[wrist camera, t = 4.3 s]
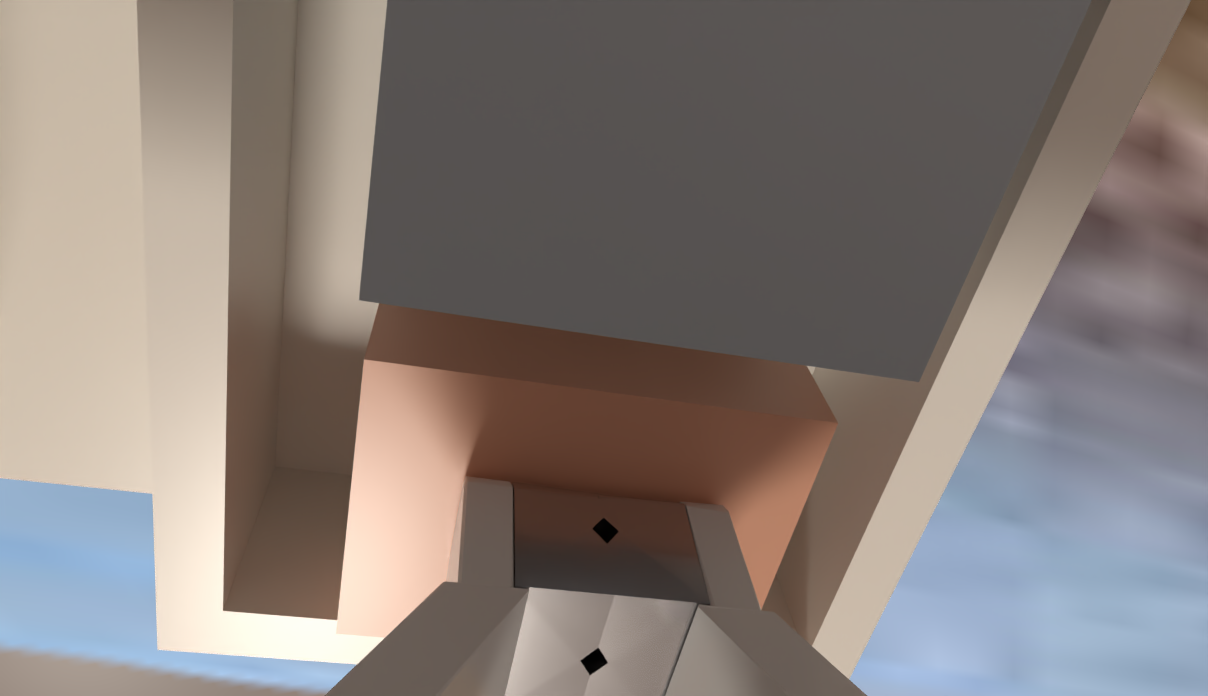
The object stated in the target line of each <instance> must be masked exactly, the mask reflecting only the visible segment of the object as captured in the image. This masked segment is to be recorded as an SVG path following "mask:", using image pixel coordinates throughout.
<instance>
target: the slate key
mask: <svg viewBox="0 0 1208 696" xmlns="http://www.w3.org/2000/svg"><path fill="white" fill-rule="evenodd" d="M1091 1H1092V0H387V9H386V20H385V30H384V41H383V51H382V62H381V72H380V83H379V93H378V104H377V114H376V125H375V135H374V146H373V156H372V167H371V177H370V188H369V198H368V209H367V219H366V230H365V240H364V251H363V261H362V272H361V282H360V293H359V300H360V301H367V302H374V303H381V304H387V305H394V306H401V307H408V308H415V309H422V310H429V311H435V312H442V313H449V314H456V315H463V316H470V317H476V318H483V319H490V320H497V321H504V322H511V323H517V324H524V325H531V326H538V327H545V328H552V329H559V330H565V331H572V332H579V333H586V334H593V335H600V336H606V337H613V338H620V339H627V340H634V341H641V342H648V343H654V344H661V345H668V346H675V347H682V348H689V349H695V350H702V351H709V352H716V353H723V354H730V355H737V356H743V357H750V358H757V359H764V360H771V361H778V362H784V363H791V364H798V365H805V366H812V367H819V368H825V369H832V370H839V371H846V372H853V373H860V374H867V375H873V376H880V377H887V378H894V379H901V380H908V381H914V382H919V381H920V379H921V377H922V374H923V372H924V370H925V368H926V366H927V363H928V361H929V359H930V357H931V354H932V352H933V350H934V348H935V346H936V343H937V341H938V339H939V337H940V335H941V332H942V330H943V328H944V326H945V324H946V321H947V319H948V317H949V315H950V313H951V310H952V308H953V306H954V304H955V302H956V299H957V297H958V295H959V293H960V290H961V288H962V286H963V284H964V282H965V279H966V277H967V275H968V273H969V271H970V268H971V266H972V264H973V262H974V260H975V257H976V255H977V253H978V251H979V249H980V246H981V244H982V242H983V240H984V238H985V235H986V233H987V231H988V229H989V226H990V224H991V222H992V220H993V218H994V215H995V213H996V211H997V209H998V207H999V204H1000V202H1001V200H1002V198H1003V196H1004V193H1005V191H1006V189H1007V187H1008V185H1009V182H1010V180H1011V178H1012V176H1013V174H1014V171H1015V169H1016V167H1017V165H1018V162H1019V160H1020V158H1021V156H1022V154H1023V151H1024V149H1025V147H1026V145H1027V143H1028V140H1029V138H1030V136H1031V134H1032V132H1033V129H1034V127H1035V125H1036V123H1037V121H1038V118H1039V116H1040V114H1041V112H1042V110H1043V107H1044V105H1045V103H1046V101H1047V98H1048V96H1049V94H1050V92H1051V90H1052V87H1053V85H1054V83H1055V81H1056V79H1057V76H1058V74H1059V72H1060V70H1061V68H1062V65H1063V63H1064V61H1065V59H1066V57H1067V54H1068V52H1069V50H1070V48H1071V46H1072V43H1073V41H1074V39H1075V37H1076V34H1077V32H1078V30H1079V28H1080V26H1081V23H1082V21H1083V19H1084V17H1085V15H1086V12H1087V10H1088V8H1089V6H1090V4H1091Z"/></svg>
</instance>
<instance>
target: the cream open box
mask: <svg viewBox="0 0 1208 696" xmlns="http://www.w3.org/2000/svg"><path fill="white" fill-rule="evenodd" d="M1190 1H1191V0H1092V1H1091V4H1090V6H1089V8H1088V10H1087V12H1086V15H1085V17H1084V19H1083V21H1082V23H1081V26H1080V28H1079V30H1078V32H1077V34H1076V37H1075V39H1074V41H1073V43H1072V46H1071V48H1070V50H1069V52H1068V54H1067V57H1066V59H1065V61H1064V63H1063V65H1062V68H1061V70H1060V72H1059V74H1058V76H1057V79H1056V81H1055V83H1054V85H1053V87H1052V90H1051V92H1050V94H1049V96H1048V98H1047V101H1046V103H1045V105H1044V107H1043V110H1042V112H1041V114H1040V116H1039V118H1038V121H1037V123H1036V125H1035V127H1034V129H1033V132H1032V134H1031V136H1030V138H1029V140H1028V143H1027V145H1026V147H1025V149H1024V151H1023V154H1022V156H1021V158H1020V160H1019V162H1018V165H1017V167H1016V169H1015V171H1014V174H1013V176H1012V178H1011V180H1010V182H1009V185H1008V187H1007V189H1006V191H1005V193H1004V196H1003V198H1002V200H1001V202H1000V204H999V207H998V209H997V211H996V213H995V215H994V218H993V220H992V222H991V224H990V226H989V229H988V231H987V233H986V235H985V238H984V240H983V242H982V244H981V246H980V249H979V251H978V253H977V255H976V257H975V260H974V262H973V264H972V266H971V268H970V271H969V273H968V275H967V277H966V279H965V282H964V284H963V286H962V288H961V290H960V293H959V295H958V297H957V299H956V302H955V304H954V306H953V308H952V310H951V313H950V315H949V317H948V319H947V321H946V324H945V326H944V328H943V330H942V332H941V335H940V337H939V339H938V341H937V343H936V346H935V348H934V350H933V352H932V354H931V357H930V359H929V361H928V363H927V366H926V368H925V370H924V372H923V374H922V377H921V379H920V381H919V382H914V381H908V380H901V379H894V378H887V377H880V376H873V375H867V374H860V373H853V372H846V371H839V370H832V369H825V368H819V367H812V366H807V367H808V369H809V371H810V373H811V375H812V376H813V378H814V380H815V382H816V384H817V385H818V387H819V389H820V391H821V393H822V394H823V396H824V398H825V400H826V402H827V404H828V405H829V407H830V409H831V411H832V413H833V414H834V416H835V418H836V420H837V422H838V425H837V427H836V430H835V432H834V435H833V437H832V440H831V442H830V444H829V447H828V449H827V452H826V454H825V457H824V459H823V461H822V464H821V466H820V469H819V471H818V473H817V476H816V478H815V481H814V483H813V486H812V488H811V490H810V493H809V495H808V498H807V500H806V503H805V505H804V507H803V510H802V512H801V515H800V517H799V519H798V522H797V524H796V527H795V529H794V532H793V534H792V536H791V539H790V541H789V544H788V546H787V549H786V551H785V553H784V556H783V558H782V561H781V563H780V565H779V568H778V570H777V573H776V575H775V578H774V580H773V582H772V585H771V587H770V590H769V592H768V595H767V597H766V599H765V602H764V604H763V607H762V609H761V611H770V612H775V613H776V614H777V615H778V616H779V617H780V618H781V619H782V620H784V621H785V622H786V623H787V624H788V625H789V626H790V627H791V628H792V629H794V630H795V631H796V632H797V633H798V634H799V635H800V636H801V637H802V638H804V639H805V640H806V641H807V642H808V643H809V644H810V645H811V646H812V647H813V648H815V649H816V650H817V651H818V652H819V653H820V654H821V655H822V656H823V657H825V658H826V659H827V660H828V661H829V662H830V663H831V664H832V665H833V666H835V667H836V668H837V669H838V670H839V671H840V672H841V673H842V674H843V675H845V676H846V677H847V678H848V679H850V677H851V675H852V673H853V671H854V669H855V667H856V665H857V663H858V661H859V659H860V657H861V655H862V653H863V651H864V649H865V647H866V645H867V643H868V641H869V639H870V637H871V635H872V633H873V631H874V629H875V627H876V625H877V623H878V621H879V619H880V617H881V615H882V613H883V611H884V609H885V607H886V605H887V603H888V601H889V599H890V597H891V595H892V593H893V591H894V589H895V587H896V585H897V583H898V581H899V579H900V577H901V575H902V573H903V571H904V569H905V567H906V565H907V563H908V561H909V559H910V557H911V555H912V553H913V551H914V549H915V547H916V545H917V543H918V541H919V539H920V538H921V536H922V534H923V532H924V530H925V528H926V526H927V524H928V522H929V520H930V518H931V516H932V514H933V512H934V510H935V508H936V506H937V504H938V502H939V500H940V498H941V496H942V494H943V492H944V490H945V488H946V486H947V484H948V482H949V480H950V478H951V476H952V474H953V472H954V470H955V468H956V466H957V464H958V462H959V460H960V458H961V456H962V454H963V452H964V450H965V448H966V446H967V444H968V442H969V440H970V438H971V436H972V434H973V432H974V430H975V428H976V426H977V424H978V422H979V420H980V418H981V416H982V414H983V412H984V410H985V408H986V406H987V404H988V402H989V400H990V398H991V396H992V394H993V392H994V390H995V389H996V387H997V385H998V383H999V381H1000V379H1001V377H1002V375H1003V373H1004V371H1005V369H1006V367H1007V365H1008V363H1009V361H1010V359H1011V357H1012V355H1013V353H1014V351H1015V349H1016V347H1017V345H1018V343H1019V341H1020V339H1021V337H1022V335H1023V333H1024V331H1025V329H1026V327H1027V325H1028V323H1029V321H1030V319H1031V317H1032V315H1033V313H1034V311H1035V309H1036V307H1037V305H1038V303H1039V301H1040V299H1041V297H1042V295H1043V293H1044V291H1045V289H1046V287H1047V285H1048V283H1049V281H1050V279H1051V277H1052V275H1053V273H1054V271H1055V269H1056V267H1057V265H1058V263H1059V261H1060V259H1061V257H1062V255H1063V253H1064V251H1065V249H1066V247H1067V245H1068V243H1069V242H1070V240H1071V238H1072V236H1073V234H1074V232H1075V230H1076V228H1077V226H1078V224H1079V222H1080V220H1081V218H1082V216H1083V214H1084V212H1085V210H1086V208H1087V206H1088V204H1089V202H1090V200H1091V198H1092V196H1093V194H1094V192H1095V190H1096V188H1097V186H1098V184H1099V182H1100V180H1101V178H1102V176H1103V174H1104V172H1105V170H1106V168H1107V166H1108V164H1109V162H1110V160H1111V158H1112V156H1113V154H1114V152H1115V150H1116V148H1117V146H1118V144H1119V142H1120V140H1121V138H1122V136H1123V134H1124V132H1125V130H1126V128H1127V126H1128V124H1129V122H1130V120H1131V118H1132V116H1133V114H1134V112H1135V110H1136V108H1137V106H1138V104H1139V102H1140V100H1141V98H1142V96H1143V95H1144V93H1145V91H1146V89H1147V87H1148V85H1149V83H1150V81H1151V79H1152V77H1153V75H1154V73H1155V71H1156V69H1157V67H1158V65H1159V63H1160V61H1161V59H1162V57H1163V55H1164V53H1165V51H1166V49H1167V47H1168V45H1169V43H1170V41H1171V39H1172V37H1173V35H1174V33H1175V31H1176V29H1177V27H1178V25H1179V23H1180V21H1181V19H1182V17H1183V15H1184V13H1185V11H1186V9H1187V7H1188V5H1189V3H1190ZM386 9H387V0H0V478H5V479H15V480H25V481H35V482H44V483H54V484H64V485H73V486H83V487H93V488H103V489H112V490H122V491H132V492H141V493H151V494H153V521H154V552H155V583H156V614H157V645H158V650H169V651H183V652H196V653H210V654H224V655H238V656H251V657H265V658H279V659H292V660H306V661H320V662H334V663H347V664H358V663H359V662H360V661H361V660H362V659H363V658H364V657H365V656H366V655H368V654H369V653H370V652H371V651H372V650H373V649H374V648H375V647H376V646H377V645H378V644H379V643H380V642H381V641H382V640H383V639H384V637H371V636H358V635H346V634H336V629H337V619H338V609H339V599H340V590H341V580H342V570H343V560H344V550H345V541H346V531H347V521H348V511H349V501H350V491H351V482H352V472H353V462H354V452H355V442H356V432H357V423H358V413H359V403H360V393H361V383H362V374H363V364H364V357H365V354H366V350H367V346H368V342H369V339H370V335H371V331H372V328H373V324H374V320H375V316H376V313H377V309H378V305H379V303H374V302H367V301H360V300H359V293H360V282H361V272H362V261H363V251H364V240H365V230H366V219H367V209H368V198H369V188H370V177H371V167H372V156H373V146H374V135H375V125H376V114H377V104H378V93H379V83H380V72H381V62H382V51H383V41H384V30H385V20H386Z"/></svg>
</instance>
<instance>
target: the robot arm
mask: <svg viewBox="0 0 1208 696" xmlns="http://www.w3.org/2000/svg"><path fill="white" fill-rule="evenodd" d="M325 696H867V695H866V694H864V693H863V692H862V691H861V690H860V689H859V688H858V687H857V686H856V685H854V684H853V683H852V682H851V681H850V680H849V679H848V678H847V677H846V676H845V675H843V674H842V673H841V672H840V671H839V670H838V669H837V668H836V667H835V666H833V665H832V664H831V663H830V662H829V661H828V660H827V659H826V658H825V657H823V656H822V655H821V654H820V653H819V652H818V651H817V650H816V649H815V648H813V647H812V646H811V645H810V644H809V643H808V642H807V641H806V640H805V639H804V638H802V637H801V636H800V635H799V634H798V633H797V632H796V631H795V630H794V629H792V628H791V627H790V626H789V625H788V624H787V623H786V622H785V621H784V620H782V619H781V618H780V617H779V616H778V615H777V614H776V613H775V612H770V611H761V608H760V605H759V602H758V599H757V595H756V592H755V589H754V586H753V583H752V580H751V577H750V574H749V571H748V568H747V565H746V562H745V559H744V556H743V553H742V550H741V547H740V544H739V541H738V538H737V535H736V532H735V529H734V526H733V523H732V520H731V517H730V514H729V511H728V510H727V509H726V508H725V507H724V506H723V505H715V504H704V503H692V502H680V503H677V502H668V501H659V500H650V499H640V498H631V497H622V496H613V495H604V494H599V493H592V492H585V491H577V490H570V489H563V488H555V487H548V486H541V485H534V484H526V483H519V482H512V484H511V483H510V482H509V481H501V480H493V479H485V478H477V477H469V476H466V477H465V480H464V483H463V486H462V491H461V497H460V502H459V508H458V514H457V519H456V525H455V530H454V536H453V541H452V547H451V552H450V558H449V565H448V571H447V578H446V582H443V583H441V584H440V585H439V586H438V587H437V588H436V589H435V590H434V591H433V592H432V593H431V594H430V595H429V596H428V597H427V598H426V599H425V600H424V601H423V602H422V603H421V604H420V605H419V606H418V607H416V608H415V609H414V610H413V611H412V612H411V613H410V614H409V615H408V616H407V617H406V618H405V619H404V620H403V621H402V622H401V623H400V624H399V625H398V626H397V627H396V628H395V629H394V630H393V631H391V632H390V633H389V634H388V635H387V636H386V637H385V638H384V639H383V640H382V641H381V642H380V643H379V644H378V645H377V646H376V647H375V648H374V649H373V650H372V651H371V652H370V653H369V654H368V655H366V656H365V657H364V658H363V659H362V660H361V661H360V662H359V663H358V664H357V665H356V666H355V667H354V668H353V669H352V670H351V671H350V672H349V673H348V674H347V675H346V676H345V677H344V678H343V679H341V680H340V681H339V682H338V683H337V684H336V685H335V686H334V687H333V688H332V689H331V690H330V691H329V692H328V693H327V694H326V695H325Z"/></svg>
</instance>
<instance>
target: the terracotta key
mask: <svg viewBox="0 0 1208 696" xmlns="http://www.w3.org/2000/svg"><path fill="white" fill-rule="evenodd" d="M837 425H838V422H837V420H836V418H835V416H834V414H833V413H832V411H831V409H830V407H829V405H828V404H827V402H826V400H825V398H824V396H823V394H822V393H821V391H820V389H819V387H818V385H817V384H816V382H815V380H814V378H813V376H812V375H811V373H810V371H809V369H808V367H807V366H805V365H798V364H791V363H784V362H778V361H771V360H764V359H757V358H750V357H743V356H737V355H730V354H723V353H716V352H709V351H702V350H695V349H689V348H682V347H675V346H668V345H661V344H654V343H648V342H641V341H634V340H627V339H620V338H613V337H606V336H600V335H593V334H586V333H579V332H572V331H565V330H559V329H552V328H545V327H538V326H531V325H524V324H517V323H511V322H504V321H497V320H490V319H483V318H476V317H470V316H463V315H456V314H449V313H442V312H435V311H429V310H422V309H415V308H408V307H401V306H394V305H387V304H381V303H379V305H378V309H377V313H376V316H375V320H374V324H373V328H372V331H371V335H370V339H369V342H368V346H367V350H366V354H365V357H364V364H363V374H362V383H361V393H360V403H359V413H358V423H357V432H356V442H355V452H354V462H353V472H352V482H351V491H350V501H349V511H348V521H347V531H346V541H345V550H344V560H343V570H342V580H341V590H340V599H339V609H338V619H337V629H336V634H346V635H358V636H371V637H384V638H385V637H386V636H387V635H388V634H389V633H390V632H391V631H393V630H394V629H395V628H396V627H397V626H398V625H399V624H400V623H401V622H402V621H403V620H404V619H405V618H406V617H407V616H408V615H409V614H410V613H411V612H412V611H413V610H414V609H415V608H416V607H418V606H419V605H420V604H421V603H422V602H423V601H424V600H425V599H426V598H427V597H428V596H429V595H430V594H431V593H432V592H433V591H434V590H435V589H436V588H437V587H438V586H439V585H440V584H441V583H443V582H446V578H447V571H448V565H449V558H450V552H451V547H452V541H453V536H454V530H455V525H456V519H457V514H458V508H459V502H460V497H461V491H462V486H463V483H464V480H465V477H466V476H469V477H477V478H485V479H493V480H501V481H509V482H510V483H511V484H512V482H519V483H526V484H534V485H541V486H548V487H555V488H563V489H570V490H577V491H585V492H592V493H599V494H604V495H613V496H622V497H631V498H640V499H650V500H659V501H668V502H677V503H680V502H692V503H704V504H715V505H723V506H724V507H725V508H726V509H727V510H728V511H729V514H730V517H731V520H732V523H733V526H734V529H735V532H736V535H737V538H738V541H739V544H740V547H741V550H742V553H743V556H744V559H745V562H746V565H747V568H748V571H749V574H750V577H751V580H752V583H753V586H754V589H755V592H756V595H757V599H758V602H759V605H760V608H761V609H762V607H763V604H764V602H765V599H766V597H767V595H768V592H769V590H770V587H771V585H772V582H773V580H774V578H775V575H776V573H777V570H778V568H779V565H780V563H781V561H782V558H783V556H784V553H785V551H786V549H787V546H788V544H789V541H790V539H791V536H792V534H793V532H794V529H795V527H796V524H797V522H798V519H799V517H800V515H801V512H802V510H803V507H804V505H805V503H806V500H807V498H808V495H809V493H810V490H811V488H812V486H813V483H814V481H815V478H816V476H817V473H818V471H819V469H820V466H821V464H822V461H823V459H824V457H825V454H826V452H827V449H828V447H829V444H830V442H831V440H832V437H833V435H834V432H835V430H836V427H837Z"/></svg>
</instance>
